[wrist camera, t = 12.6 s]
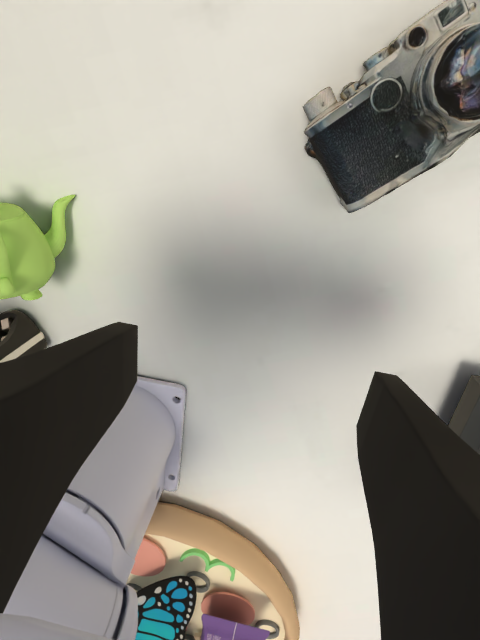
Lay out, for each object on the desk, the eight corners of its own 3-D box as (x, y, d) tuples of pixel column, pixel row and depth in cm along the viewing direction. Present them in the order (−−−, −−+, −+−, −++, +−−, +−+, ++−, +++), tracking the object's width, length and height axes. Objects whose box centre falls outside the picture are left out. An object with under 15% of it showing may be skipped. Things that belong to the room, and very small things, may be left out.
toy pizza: (263, 736, 36) (18, 667, 37) (265, 695, 39) (37, 632, 40) (339, 575, 26) (-2, 486, 27) (335, 535, 29) (25, 456, 30)
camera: (287, 118, 18) (283, 109, 14) (528, -57, 14) (612, -133, 10) (339, 213, 19) (348, 229, 15) (571, 75, 16) (658, 51, 12)
